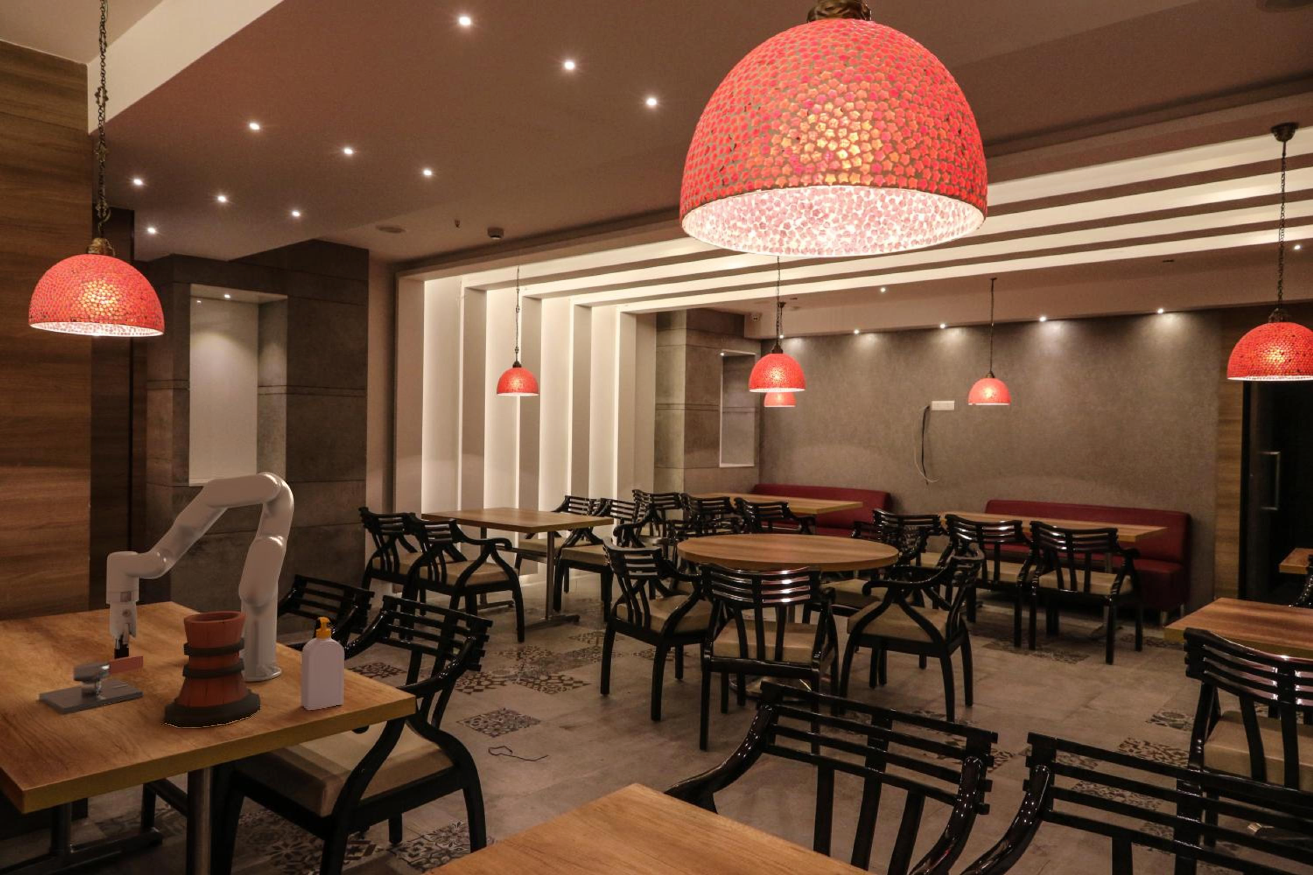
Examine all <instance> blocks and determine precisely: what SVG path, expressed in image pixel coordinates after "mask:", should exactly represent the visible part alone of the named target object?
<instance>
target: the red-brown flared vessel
mask: <svg viewBox="0 0 1313 875" xmlns="http://www.w3.org/2000/svg"><path fill="white" fill-rule="evenodd" d="M245 617H246V615H245V613H242V612H241V611H235V610H234V611H233V610H219V611H210V612H202V613H201V612H200V613H195V614H191V615H188V616H186V617H183V619H182V620H183V621H182V622H183V628H184V632H185V635H186V636H185V637H186V642H185V643H183V656H188V662H187V663H185V664H183V669H182V673H181V674H182V676H181V677H182V678H184V679H183V683H182V684H181V687H180V688H181V689H180V690H179V693H178V696H176V698H173V701H172V702H171V703H169V704H167V705H165V706H164V714H163V715H164V720H163V722H164V723H167V724H171V725H174V726H177V727H203V726H211V725H217V724H226V723H229V722H232V721H235V720H240V719H242V718H246V717H250V716H251V715H252V714H254V713H256V712H257V711H258V710H260V711H261V697H260V695H259V694H258V693H255V692H252V688H248V687H247V684H246V681H244V678H243V675H242V672H241V671H243V670H244V669H245V666H244V661H243V658H240V650H242V649H244V645H245V640H244V638H242V637H241V636H242V631H243V627H244V622H245ZM257 713H258V712H257ZM257 713H256V714H257ZM254 715H255V714H254ZM251 717H252V716H251ZM251 717H250V718H251ZM167 724H166V725H167Z"/></svg>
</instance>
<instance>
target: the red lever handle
mask: <svg viewBox="0 0 1313 875" xmlns="http://www.w3.org/2000/svg"><path fill="white" fill-rule="evenodd" d="M140 669H144V655H143V654H137V655H129V657H124V658H119V659H114V658H113V659H109V660H107V661H93V662H92V661H91V662H86V663H82V664H78V665H76V666H74V667H73V672H72V674H73V676H72V679H73V680H72V681H74V682H81V683H82V682H86V681H95V680H100V679H102V680H103V679H107V678H109V677H110V675H114V674H119V673H125V672H130V671H136V670H140Z"/></svg>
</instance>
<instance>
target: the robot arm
mask: <svg viewBox="0 0 1313 875" xmlns="http://www.w3.org/2000/svg"><path fill="white" fill-rule="evenodd" d="M260 504H262V511H261V515H260V517H259V524H258V529H257V530H256V535H255V537H254V539H253V541H252V542H251V544H250V545H249V548H248V552H247V555H246V559H245V562H244V566H243V570H242V572H241V573H242V574H241V579H240V581H239V585H238V596H239V598H240V600H241V603H240V605H241V606H240V608H241V609H240V612H242V613H245V615H246V617H245V622H244V627H243V631H242V636H241V637H242V638H244V640H245V645H244V649H242V650H240V651H239V657H240V658H243V661H244V666H245V669H244V670H243V671H241V672H242V675H243V678H244V681H245V683H246V682H250V683H251V682H259V681H260V682H261V681H267V680H271V679H275V678H277V677H279V676H280V675H281V674H282V668H280V667H278V666H277V664H276V663H277V662H276V661H277V625H278V624H277V622H278V619H277V618H278V596H279V582H278V581H279V577H280V575H281V572H282V568H283V567H282V566H283V563H284V559H285V556H286V552H287V542H288V539H289V534H290V531H291V530H290V529H291V526H292V522H293V517H294V511H295V500H294V495H293V492H292V490H291V488H290V486H289V485H288V484H287V483H286V481H284V479H283V478H281V477H280V476H279V475H277V474H275V473H273V472H271V471H270V472H269V471H262V472H259V473H255V474H249V475H244V476H243V475H241V476H236V477H227V478H226V477H216V478H214V479H211V480H209V481H208V482H207V483H205V484H204V486H203V488H202V490H200V492H199V493H198V494H197V495H196V496H195V497H194V498H193V499H192V500H191V502H190V503H189V504H188V505H187V506H186V507H185V508H184V509H183V510H182V511H180V513H179V514H178V515H177V516H176V518H175V520H174V522H173V524H172V525H171V527H170V529H169V530H168V531H167V532H166V533H165V534H164V535H163V537H161V538H160V539H159V541H158V542H157V543H156V544H155V545H154V546H153V547H152V548H151V549H150V550H149V551H146V552H142V553H138V552H136V551H131V550H130V551H129V550H127V551H126V550H125V551H115V552H112V553H110V554H108V556H107V560H106V594H105V595H106V599H105V600H106V602H105V603H106V604H107V605H110V606H109V609H110V610H109V634H110V635H111V636H112V637H113V638H114V642H113V643H114V648H113V649H114V650H113V659H119V658H124V657H130V637H132V638H134V639H135V638H137V636H138V617H137V616H138V614H137V604H136V603H137V602H138V601H140V598H139V594H140V592H139V591H140V586H139V584H140V579H150V580H151V579H152V580H153V579H158V578H161V577H162V576H163V575H164V574H166V573H167V572H168V571H169V570H170V569H171V568H172V567H174V565H175V564H176V563H177V562H178V561H179V560H180V559H181V558H182V556H184V554H186V553H187V551H188V550H189V549H190V548H191V547H192V546H193V545H194V543H196V542H197V541H198V540H199V539H200V538H202V536H204V535H205V533H206V532H207V531H208V530H209V529H210V528H211V527H212V526H213V524H214V523H215V522H216V521H218V519H219V518H220V517H221V516H222V514H224V513H225V512H226V511H227V510H228V509H230V508H238V507H244V506H253V505H260Z"/></svg>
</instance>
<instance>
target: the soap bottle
mask: <svg viewBox="0 0 1313 875" xmlns="http://www.w3.org/2000/svg"><path fill="white" fill-rule="evenodd" d="M317 621H320V628H318V629H316V630H315V631H316V632H315V638H311V640H309V641H307V642H306V644H305V645H304V646H303V647H302V651H301V680H300V681H301V682H300V683H301V684H300V686H301V689H300V691H301V692H300V704H301V706H302V705H303V706H304V707H303V706H302V707H303V708H304V709H306V711H308V710H315V709H320V708H324V707H330V706H335V705H340V704H342V705H344V685H345V683H344V681H345V680H344V679H345V678H344V677H345V675H344V674H345V669H344V668H345V650H344V647H343V646H342V644H341V643H339V642H338V641H336V640H335V639H332V637H331V636H332V635H331V634H332V630H331V628H328V627H327V623H331V621H330V620H329V618H328V617H325V616H320V617H319V616H318V618H317ZM320 710H321V709H320ZM315 711H316V710H315Z"/></svg>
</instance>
